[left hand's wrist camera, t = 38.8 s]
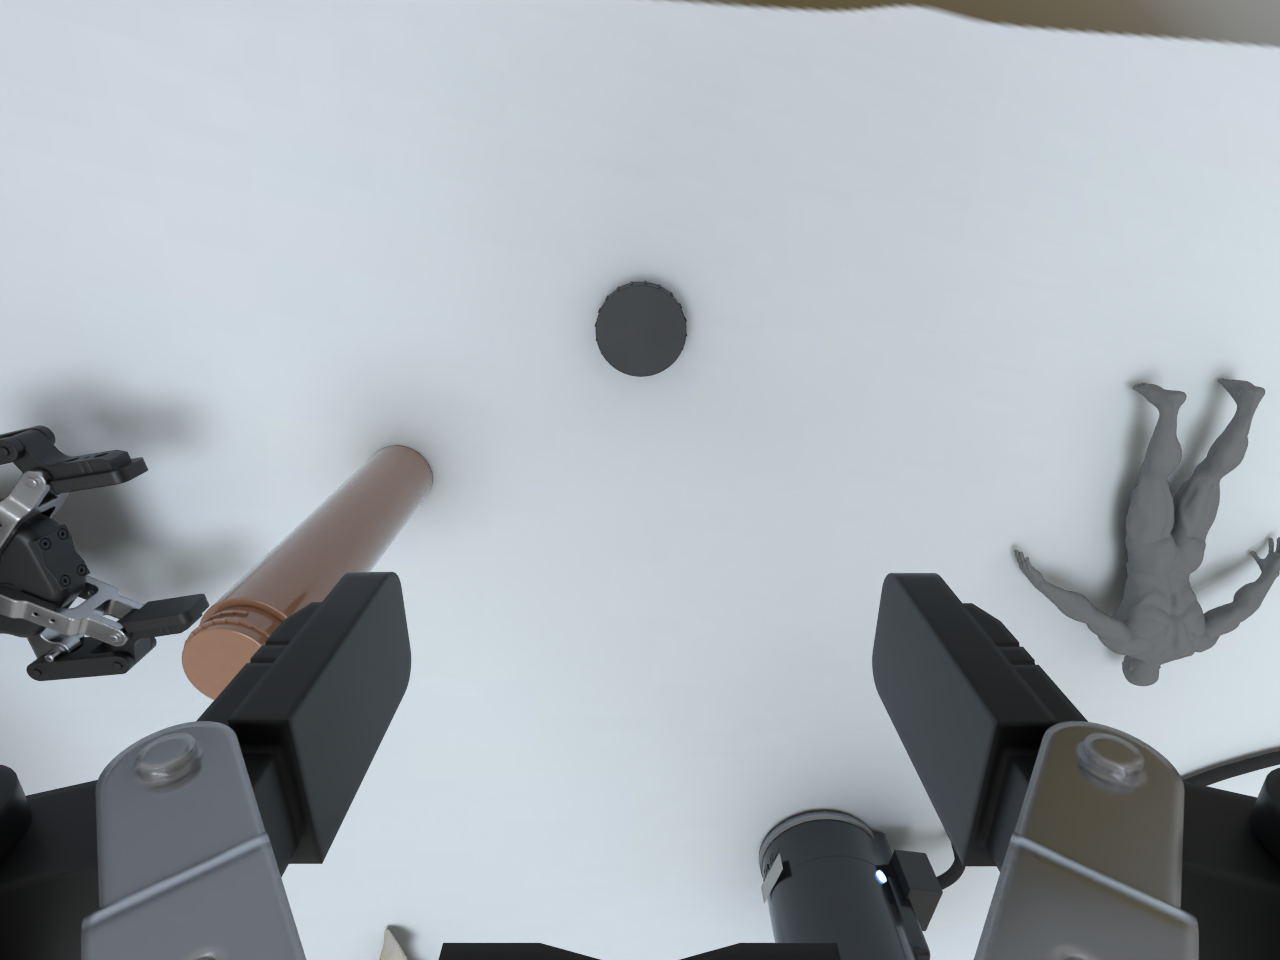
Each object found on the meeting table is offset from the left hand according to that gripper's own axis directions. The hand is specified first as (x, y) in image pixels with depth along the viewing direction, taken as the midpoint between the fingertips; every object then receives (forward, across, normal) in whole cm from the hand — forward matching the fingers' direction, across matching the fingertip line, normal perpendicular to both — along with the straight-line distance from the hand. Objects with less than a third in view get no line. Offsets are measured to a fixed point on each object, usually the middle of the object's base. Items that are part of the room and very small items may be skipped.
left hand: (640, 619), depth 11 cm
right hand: (+24, +26, +11) cm, 37 cm away
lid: (+29, 0, 0) cm, 29 cm away
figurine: (+30, -32, +13) cm, 46 cm away
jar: (+30, +15, +9) cm, 35 cm away
